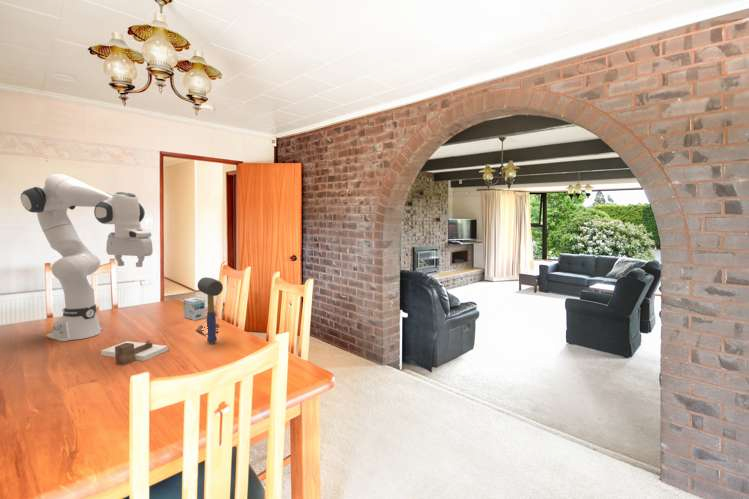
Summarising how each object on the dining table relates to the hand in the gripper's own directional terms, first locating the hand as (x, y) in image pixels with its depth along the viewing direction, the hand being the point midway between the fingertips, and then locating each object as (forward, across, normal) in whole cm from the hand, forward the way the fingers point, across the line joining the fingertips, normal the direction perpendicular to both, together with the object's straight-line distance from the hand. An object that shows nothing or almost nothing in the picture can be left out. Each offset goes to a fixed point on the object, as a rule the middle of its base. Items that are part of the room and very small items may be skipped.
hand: (130, 266), depth 153 cm
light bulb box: (+37, -15, +52) cm, 66 cm away
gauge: (+37, +4, -3) cm, 37 cm away
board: (+37, -1, +1) cm, 37 cm away
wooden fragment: (+38, +5, +38) cm, 54 cm away
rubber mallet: (+37, +22, +20) cm, 48 cm away
